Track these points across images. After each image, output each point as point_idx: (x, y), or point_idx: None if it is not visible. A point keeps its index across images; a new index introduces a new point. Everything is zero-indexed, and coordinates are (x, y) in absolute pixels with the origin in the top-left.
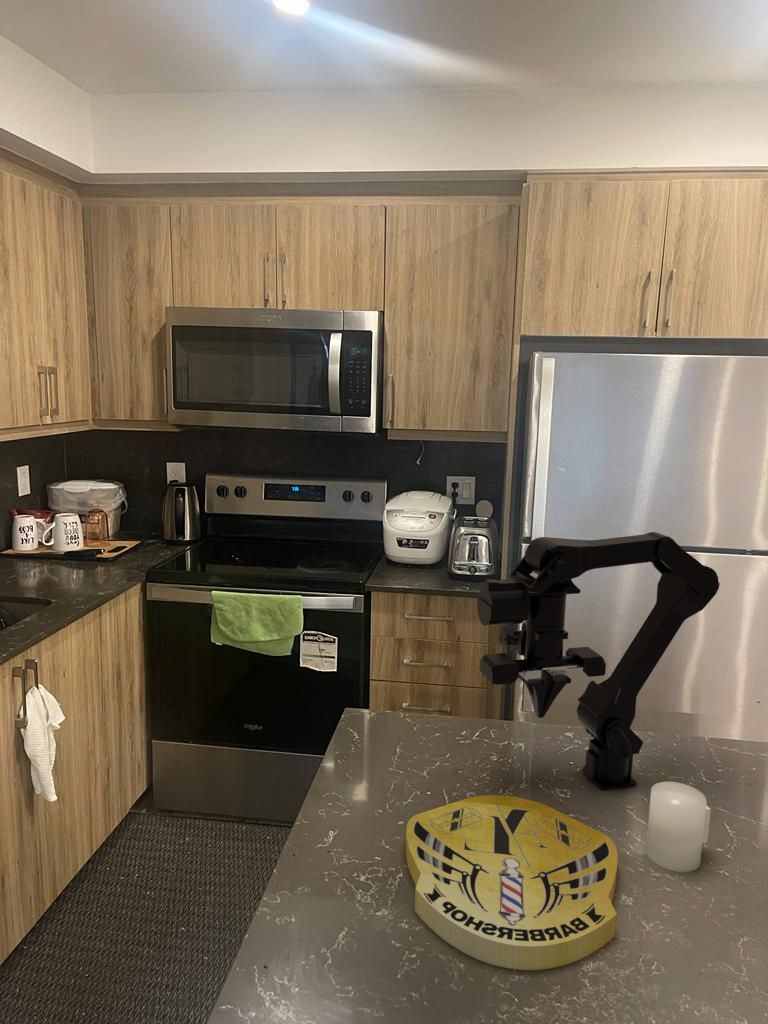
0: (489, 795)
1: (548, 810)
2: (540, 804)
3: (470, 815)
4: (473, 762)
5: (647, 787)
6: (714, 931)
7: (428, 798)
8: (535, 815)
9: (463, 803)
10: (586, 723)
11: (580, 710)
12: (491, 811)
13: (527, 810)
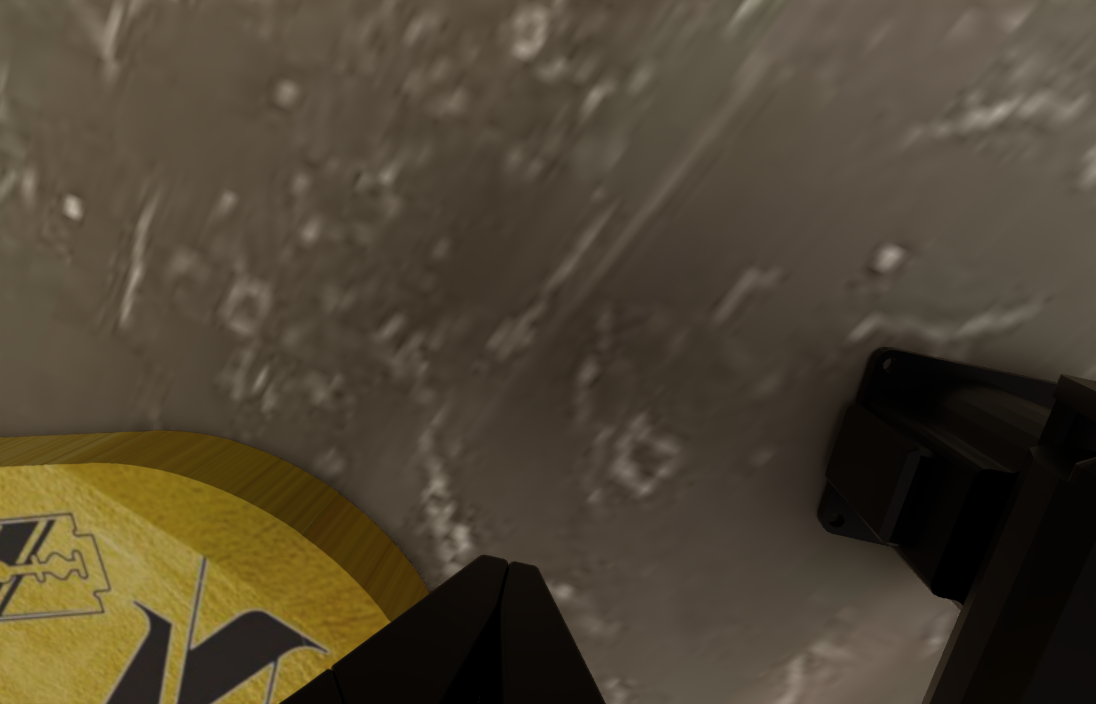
0: (205, 486)
1: None
2: None
3: (66, 569)
4: (396, 33)
5: None
6: None
7: (58, 249)
8: None
9: (68, 488)
10: (985, 619)
11: (1092, 552)
12: (159, 585)
13: (309, 639)
